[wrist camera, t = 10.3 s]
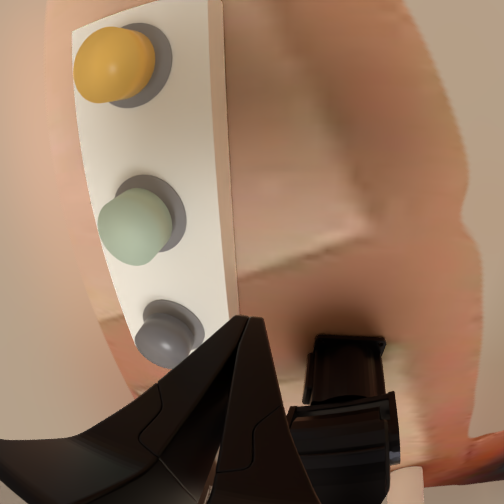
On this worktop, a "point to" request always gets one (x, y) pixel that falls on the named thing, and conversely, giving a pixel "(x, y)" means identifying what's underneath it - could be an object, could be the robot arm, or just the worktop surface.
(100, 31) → the button amber
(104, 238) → the button sage
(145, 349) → the button charcoal
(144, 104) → the button panel
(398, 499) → the cylindrical container
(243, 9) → the worktop surface
